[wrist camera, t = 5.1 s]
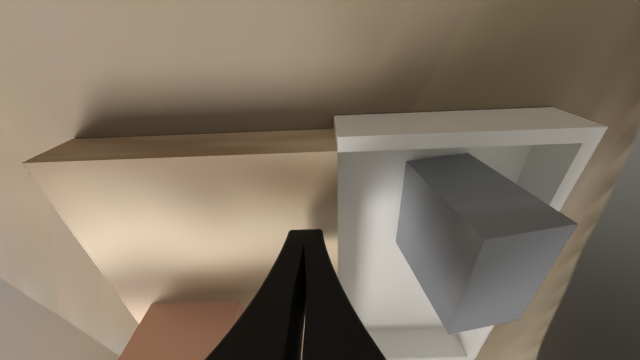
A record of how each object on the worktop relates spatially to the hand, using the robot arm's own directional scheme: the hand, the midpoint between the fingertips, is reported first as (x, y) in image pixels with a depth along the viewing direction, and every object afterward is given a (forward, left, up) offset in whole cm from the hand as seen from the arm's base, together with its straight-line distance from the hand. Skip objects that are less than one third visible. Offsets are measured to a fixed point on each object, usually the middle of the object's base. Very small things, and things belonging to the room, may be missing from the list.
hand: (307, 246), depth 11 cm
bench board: (-4, +5, -3) cm, 7 cm away
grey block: (0, -5, 0) cm, 5 cm away
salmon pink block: (-8, +7, -1) cm, 10 cm away
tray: (-4, -6, -3) cm, 8 cm away
